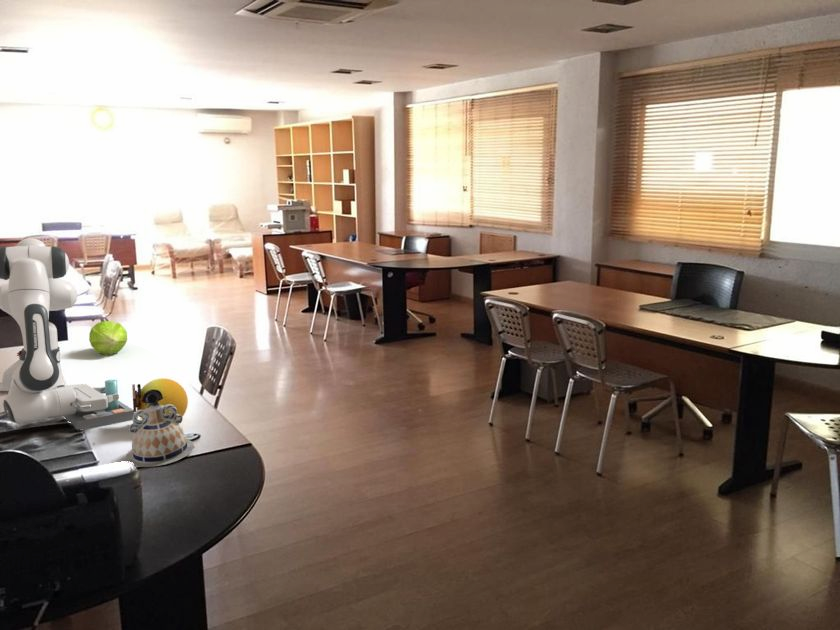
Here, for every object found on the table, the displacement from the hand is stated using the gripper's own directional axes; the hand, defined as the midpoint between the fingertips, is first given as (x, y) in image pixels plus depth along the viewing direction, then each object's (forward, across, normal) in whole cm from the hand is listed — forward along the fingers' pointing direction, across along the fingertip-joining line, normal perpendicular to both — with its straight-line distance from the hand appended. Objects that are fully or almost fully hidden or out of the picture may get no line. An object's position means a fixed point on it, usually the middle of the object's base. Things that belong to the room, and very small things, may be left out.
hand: (112, 392), depth 217 cm
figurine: (-2, -40, +8) cm, 41 cm away
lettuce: (+30, +90, +8) cm, 95 cm away
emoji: (+8, -18, +8) cm, 21 cm away
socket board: (-4, 0, +8) cm, 9 cm away
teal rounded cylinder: (0, 0, +8) cm, 8 cm away
